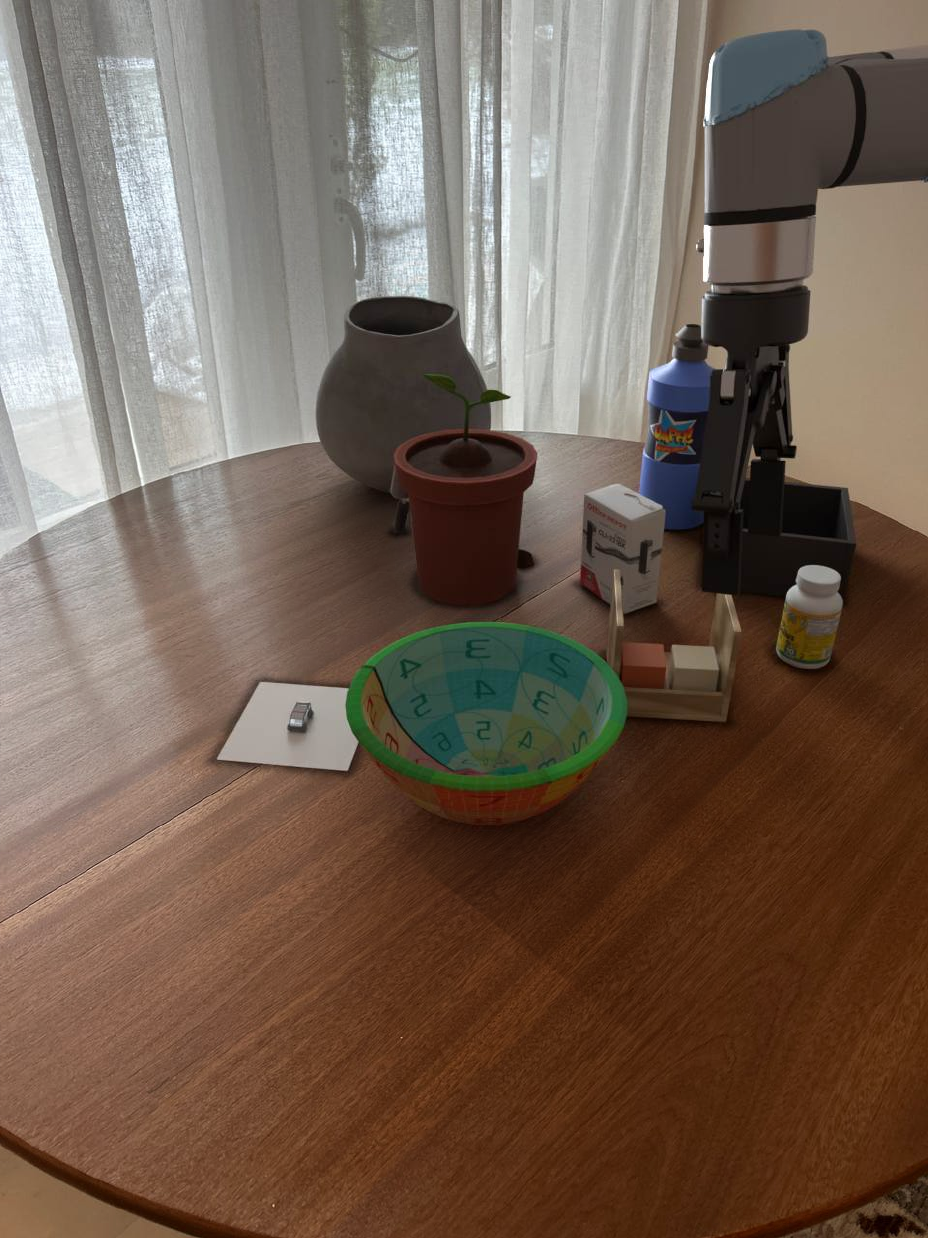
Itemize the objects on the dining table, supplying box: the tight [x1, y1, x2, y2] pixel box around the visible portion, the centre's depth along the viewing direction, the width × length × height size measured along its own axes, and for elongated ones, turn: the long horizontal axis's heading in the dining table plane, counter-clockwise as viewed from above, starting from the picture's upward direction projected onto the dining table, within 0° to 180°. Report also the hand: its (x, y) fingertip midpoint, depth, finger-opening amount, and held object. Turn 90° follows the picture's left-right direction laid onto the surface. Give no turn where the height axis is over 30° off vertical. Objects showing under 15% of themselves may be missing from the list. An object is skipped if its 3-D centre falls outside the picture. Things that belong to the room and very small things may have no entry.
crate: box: [606, 569, 743, 723], centre depth 89 cm, size 11×11×10 cm
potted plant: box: [390, 374, 538, 606], centre depth 106 cm, size 18×22×25 cm
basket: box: [700, 477, 857, 602], centre depth 111 cm, size 16×16×8 cm
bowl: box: [345, 621, 628, 826], centre depth 76 cm, size 22×22×10 cm
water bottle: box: [638, 323, 716, 531], centre depth 118 cm, size 9×9×25 cm
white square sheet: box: [216, 681, 359, 772], centre depth 86 cm, size 12×12×2 cm
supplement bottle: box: [775, 565, 844, 670], centre depth 93 cm, size 5×5×10 cm
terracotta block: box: [619, 641, 666, 689], centre depth 89 cm, size 4×4×4 cm
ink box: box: [579, 483, 666, 615], centre depth 104 cm, size 8×5×12 cm, turn 31°
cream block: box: [668, 644, 719, 692], centre depth 88 cm, size 4×4×4 cm
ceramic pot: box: [315, 295, 492, 495], centre depth 128 cm, size 24×24×25 cm
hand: (744, 561), depth 75 cm, fingers open, 13 cm apart
